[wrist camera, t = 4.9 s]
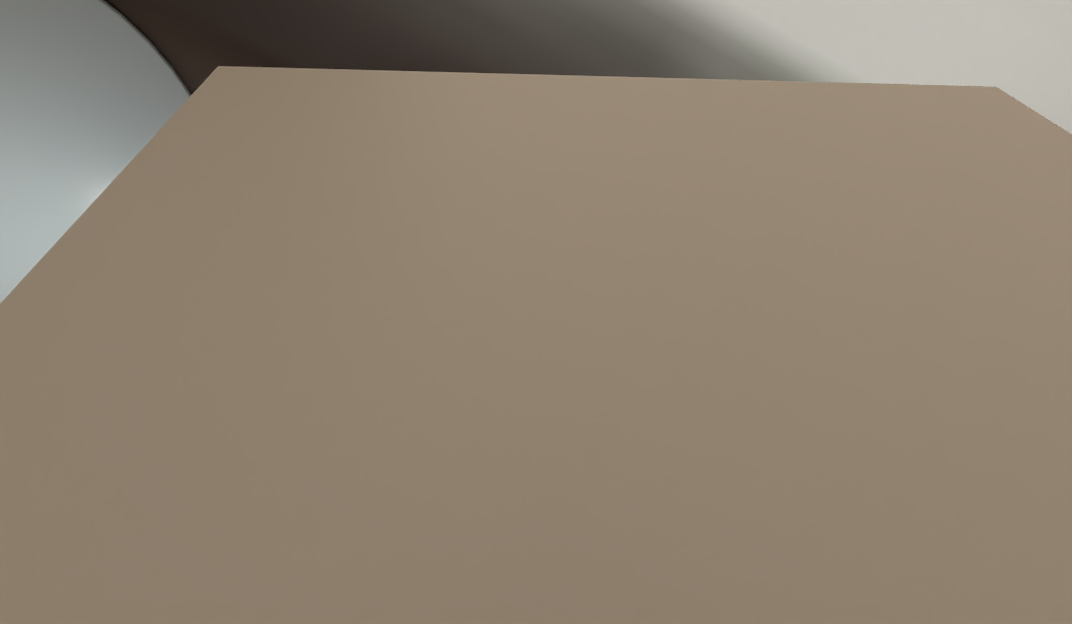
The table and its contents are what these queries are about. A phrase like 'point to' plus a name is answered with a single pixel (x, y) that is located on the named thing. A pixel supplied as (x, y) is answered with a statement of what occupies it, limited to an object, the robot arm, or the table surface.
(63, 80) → the disc
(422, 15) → the table surface
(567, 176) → the block
